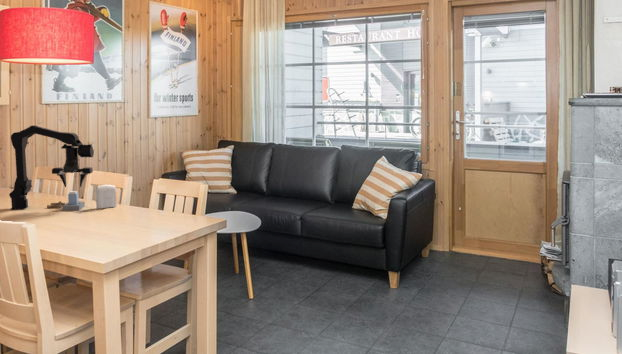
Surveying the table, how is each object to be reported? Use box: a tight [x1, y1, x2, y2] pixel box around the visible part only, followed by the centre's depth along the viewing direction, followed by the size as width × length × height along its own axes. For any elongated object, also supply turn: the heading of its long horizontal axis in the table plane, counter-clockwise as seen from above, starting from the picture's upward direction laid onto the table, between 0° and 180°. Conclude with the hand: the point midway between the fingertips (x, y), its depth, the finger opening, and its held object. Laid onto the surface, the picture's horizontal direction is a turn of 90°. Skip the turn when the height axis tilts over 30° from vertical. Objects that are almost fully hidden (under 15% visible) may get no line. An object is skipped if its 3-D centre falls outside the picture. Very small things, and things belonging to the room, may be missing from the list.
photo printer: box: [95, 184, 117, 210], centre depth 272 cm, size 10×4×12 cm, turn 134°
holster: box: [46, 200, 66, 209], centre depth 276 cm, size 9×15×2 cm, turn 11°
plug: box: [67, 190, 80, 205], centre depth 268 cm, size 4×4×9 cm
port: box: [62, 201, 85, 212], centre depth 269 cm, size 8×12×3 cm, turn 11°
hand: (73, 186), depth 267 cm, fingers open, 7 cm apart
